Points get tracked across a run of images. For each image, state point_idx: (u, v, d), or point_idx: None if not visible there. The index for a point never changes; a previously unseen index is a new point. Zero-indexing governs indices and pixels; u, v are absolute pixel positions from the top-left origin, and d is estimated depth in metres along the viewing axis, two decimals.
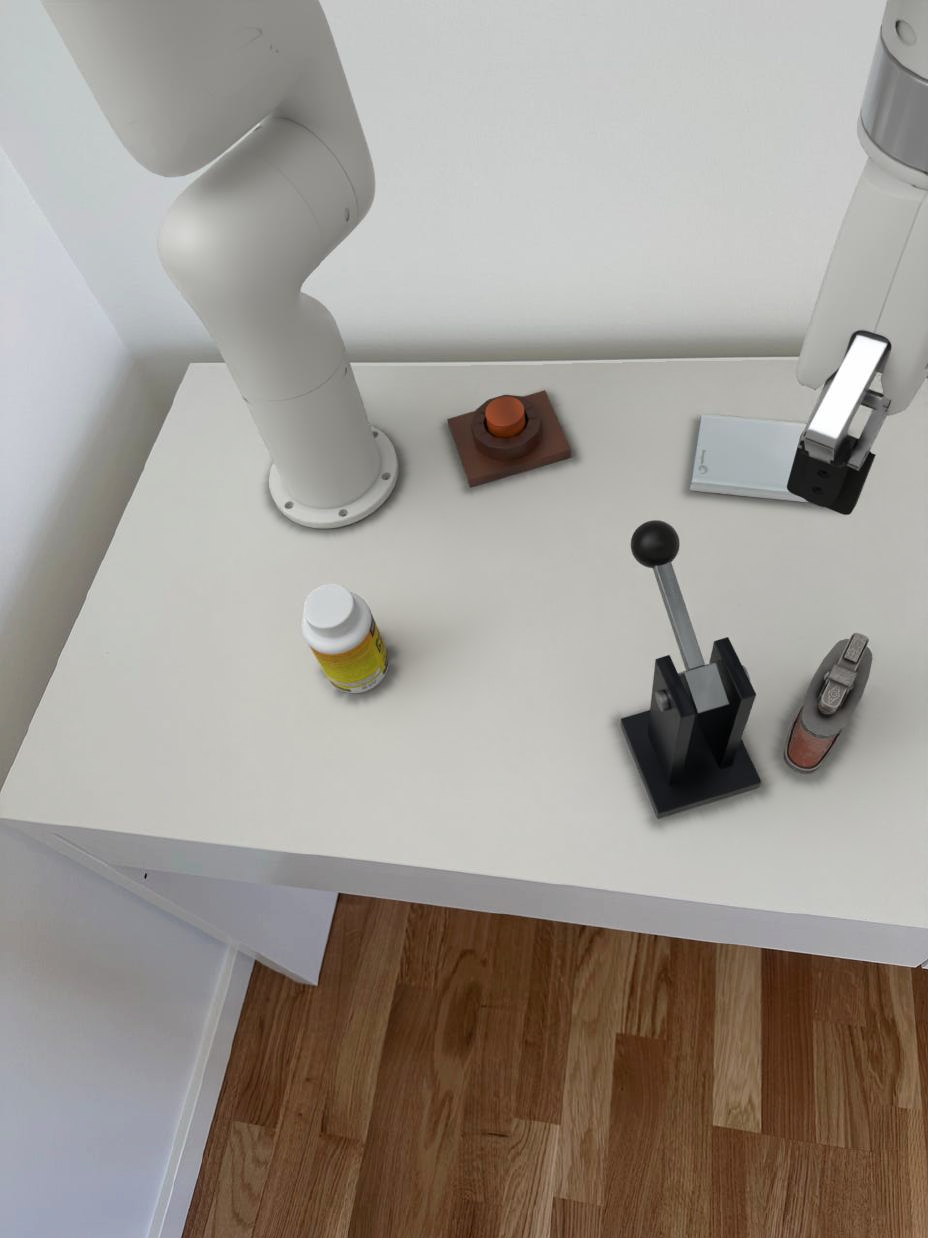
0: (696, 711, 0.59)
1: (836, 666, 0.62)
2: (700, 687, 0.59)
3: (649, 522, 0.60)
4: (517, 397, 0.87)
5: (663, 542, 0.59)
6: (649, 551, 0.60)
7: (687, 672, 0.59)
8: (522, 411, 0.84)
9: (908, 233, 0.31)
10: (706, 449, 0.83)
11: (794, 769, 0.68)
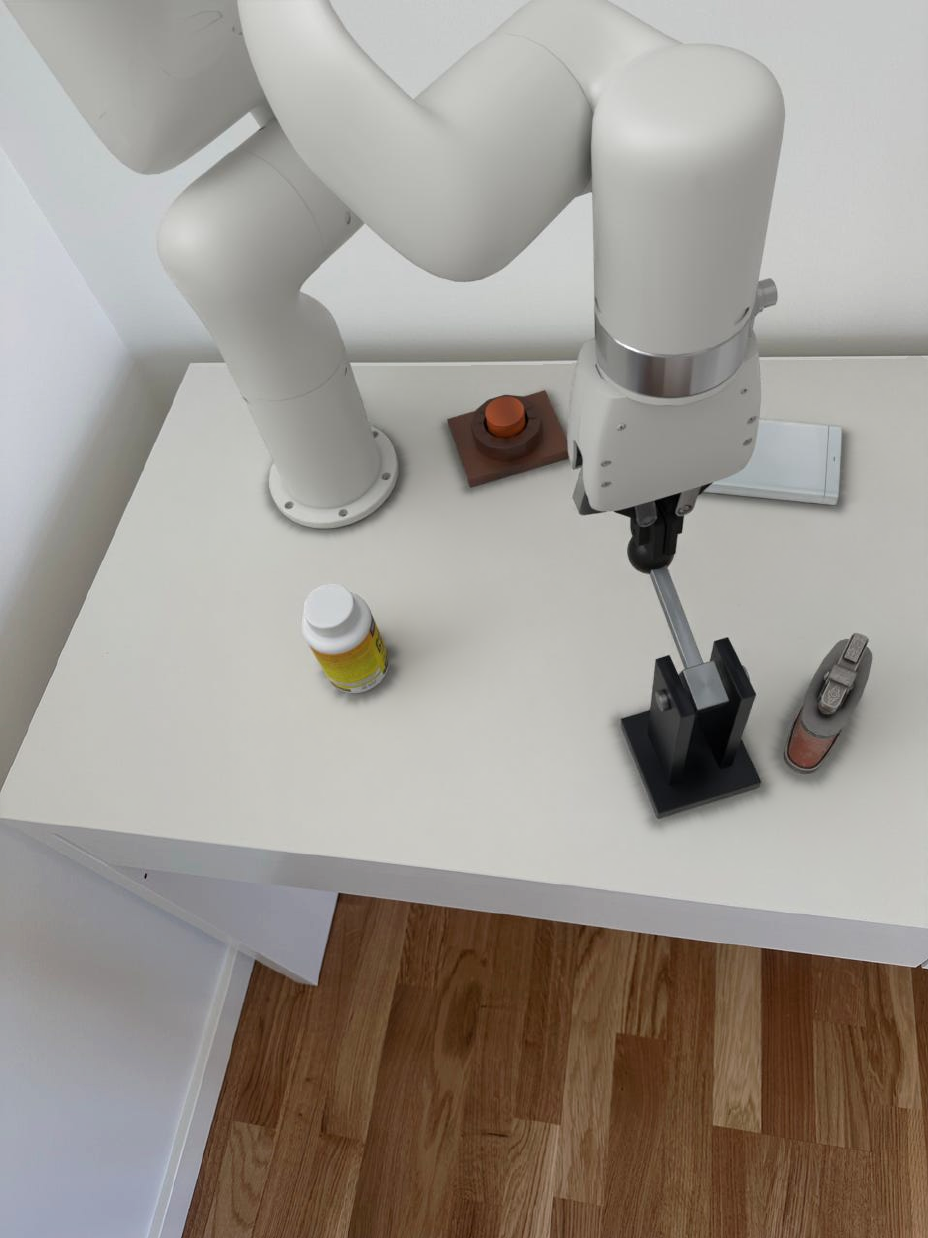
0: (696, 708, 0.59)
1: (836, 666, 0.62)
2: (699, 684, 0.59)
3: None
4: (517, 397, 0.87)
5: None
6: (644, 554, 0.61)
7: (685, 669, 0.59)
8: (522, 411, 0.84)
9: (583, 391, 0.47)
10: None
11: (794, 769, 0.68)
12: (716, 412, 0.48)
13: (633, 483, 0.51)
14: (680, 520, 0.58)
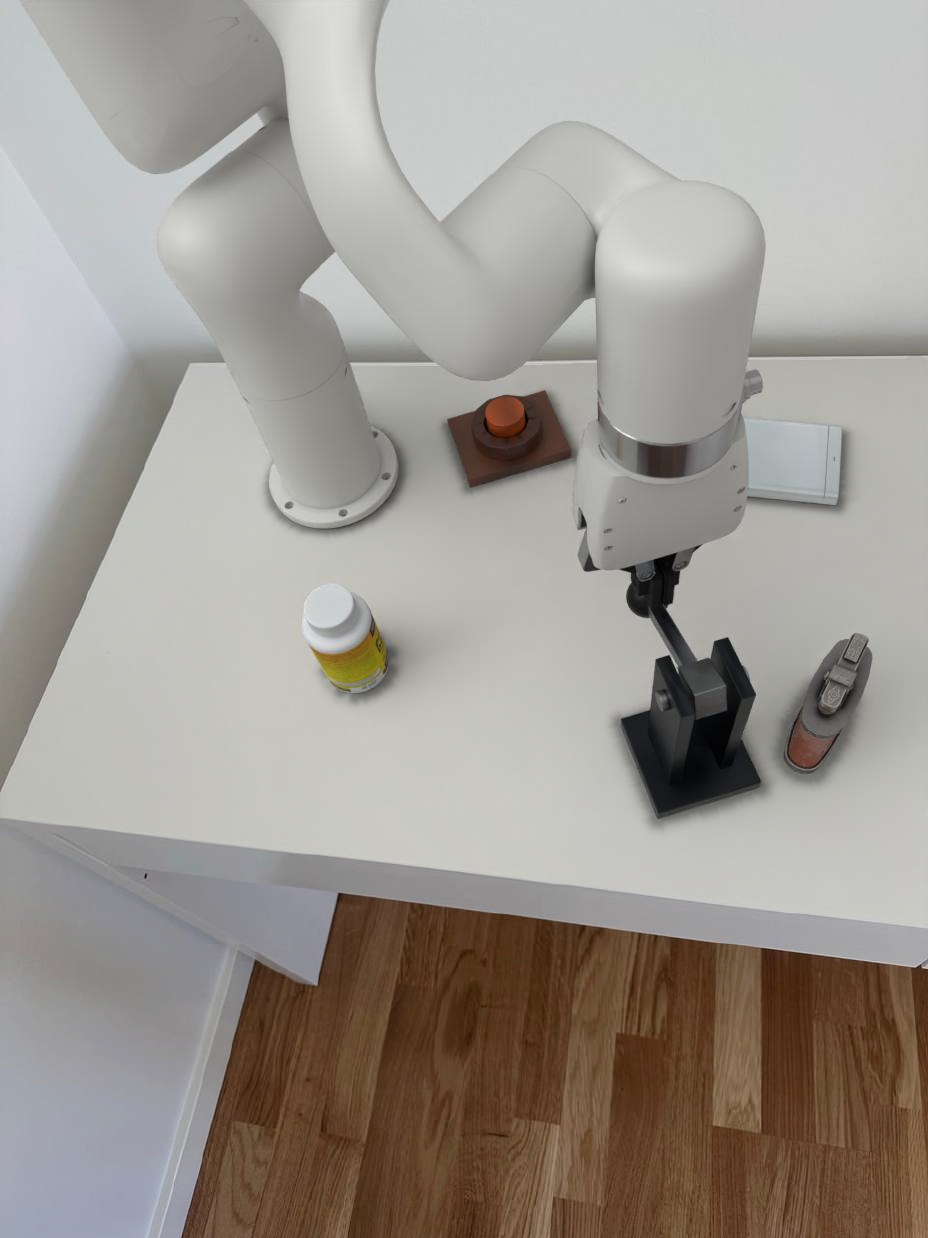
0: (693, 695, 0.58)
1: (836, 666, 0.62)
2: (694, 675, 0.59)
3: None
4: (517, 397, 0.87)
5: None
6: None
7: (680, 666, 0.60)
8: (522, 411, 0.84)
9: (587, 467, 0.52)
10: None
11: (794, 769, 0.68)
12: (708, 486, 0.53)
13: (633, 546, 0.56)
14: (677, 573, 0.63)
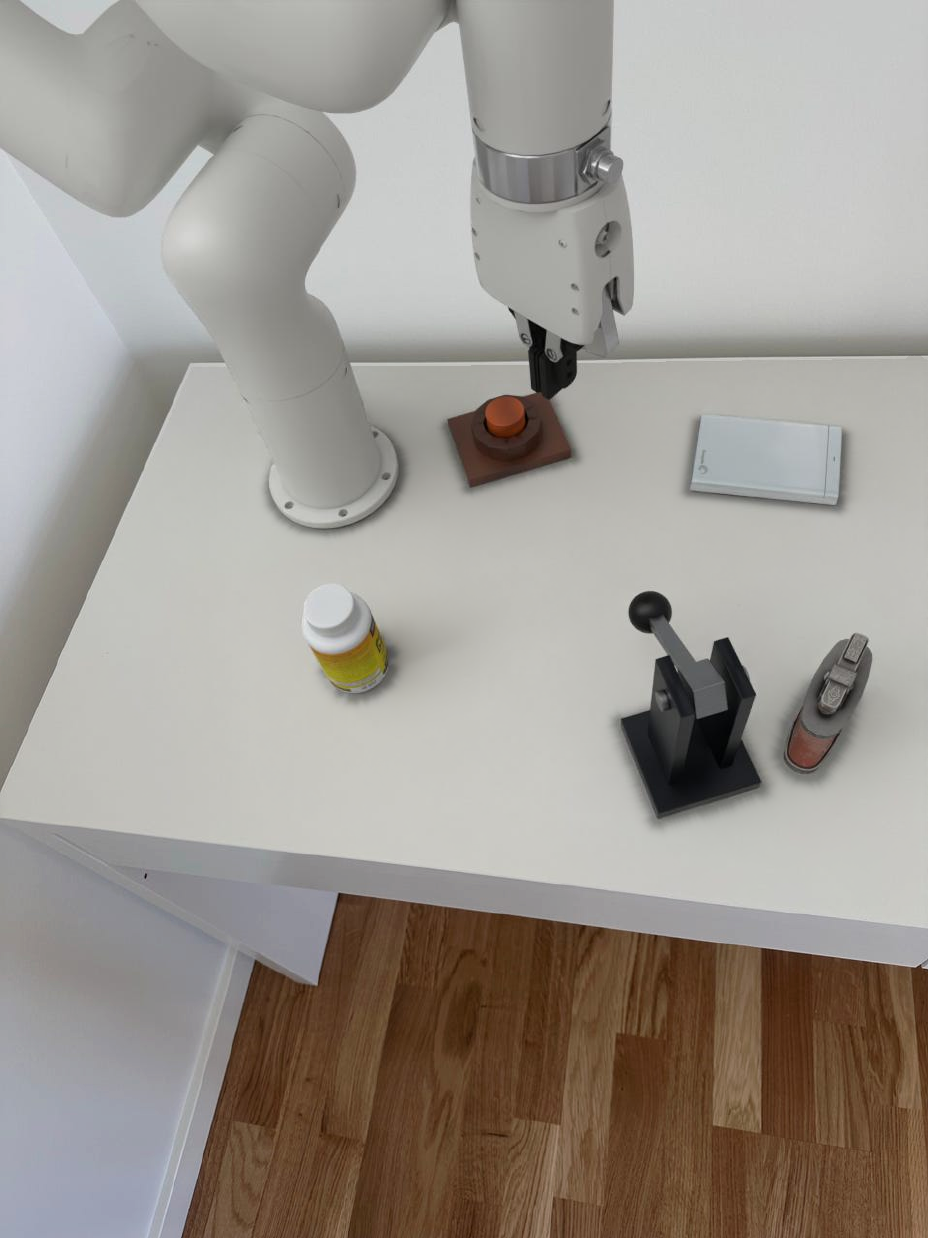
0: (692, 691, 0.58)
1: (836, 666, 0.62)
2: (693, 674, 0.59)
3: None
4: (517, 397, 0.87)
5: (651, 596, 0.67)
6: (639, 605, 0.67)
7: (680, 667, 0.60)
8: (522, 411, 0.84)
9: None
10: (706, 449, 0.83)
11: (794, 769, 0.68)
12: (540, 247, 0.53)
13: (494, 273, 0.58)
14: (558, 370, 0.63)
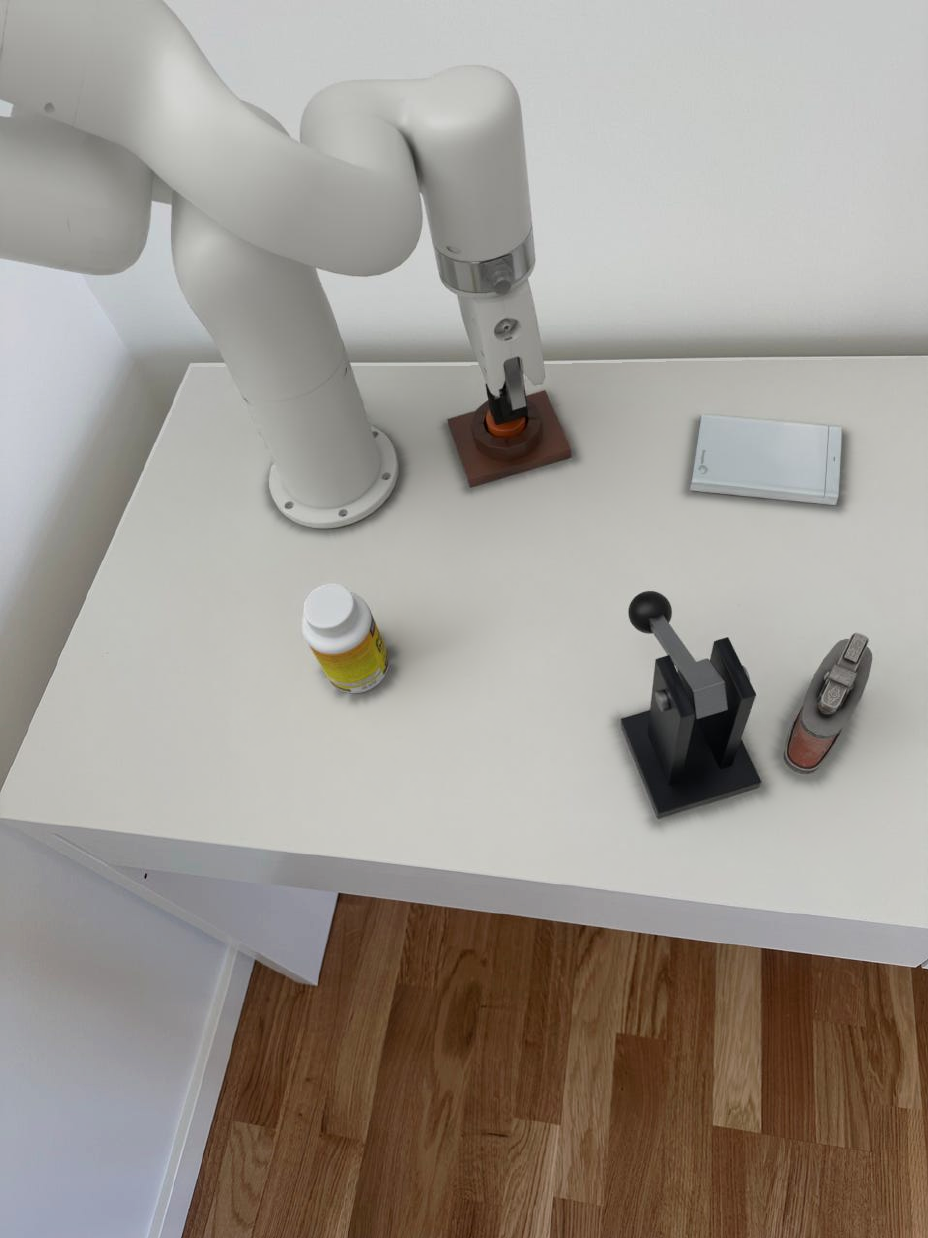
0: (692, 691, 0.58)
1: (836, 666, 0.62)
2: (693, 674, 0.59)
3: None
4: None
5: (651, 596, 0.67)
6: (639, 605, 0.67)
7: (680, 667, 0.60)
8: None
9: None
10: (706, 449, 0.83)
11: (794, 769, 0.68)
12: (467, 317, 0.72)
13: None
14: (501, 406, 0.82)
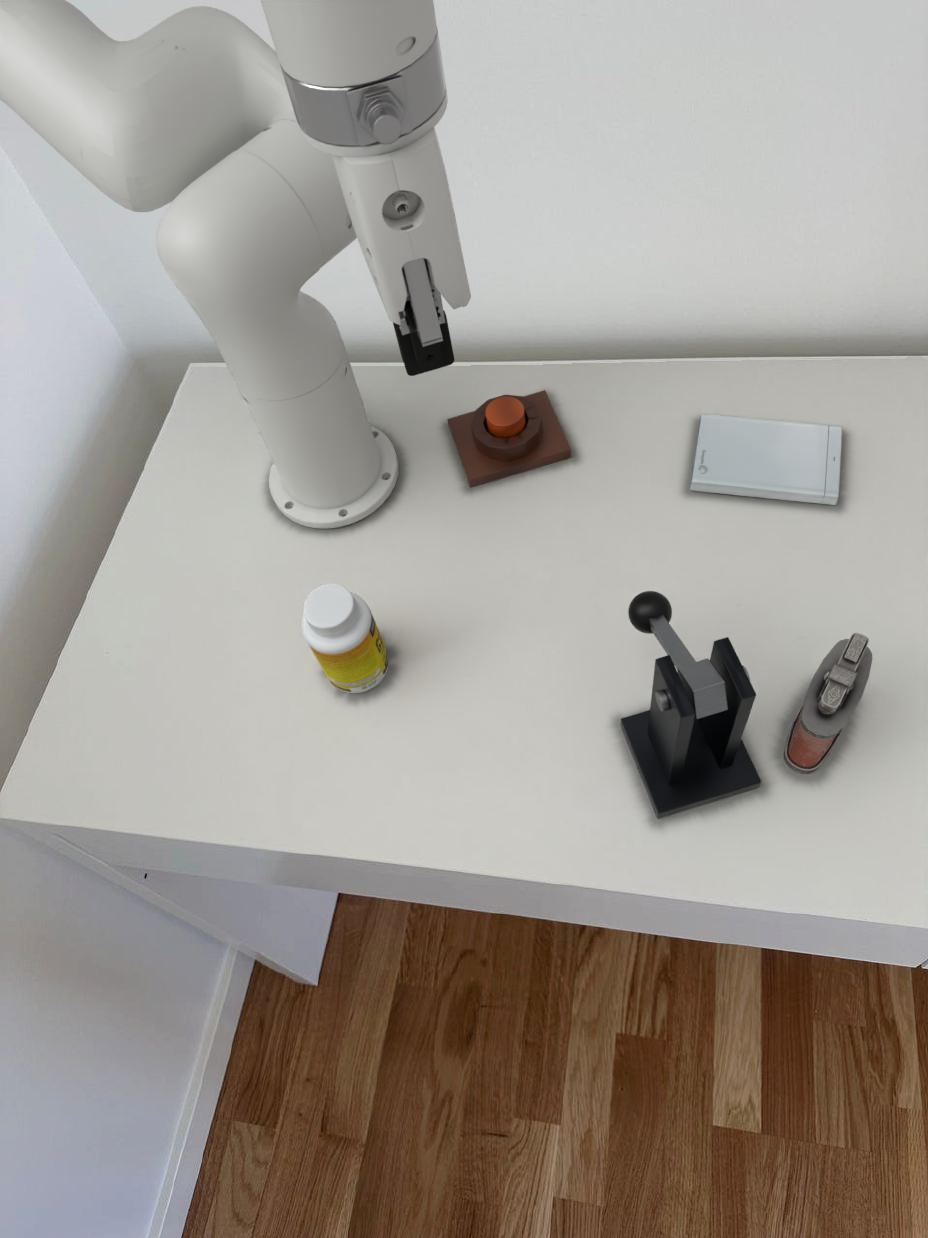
0: (692, 691, 0.58)
1: (836, 666, 0.62)
2: (693, 674, 0.59)
3: None
4: (517, 397, 0.87)
5: (651, 596, 0.67)
6: (639, 605, 0.67)
7: (680, 667, 0.60)
8: (522, 411, 0.84)
9: None
10: (706, 449, 0.83)
11: (794, 769, 0.68)
12: (345, 195, 0.47)
13: None
14: (414, 347, 0.57)
